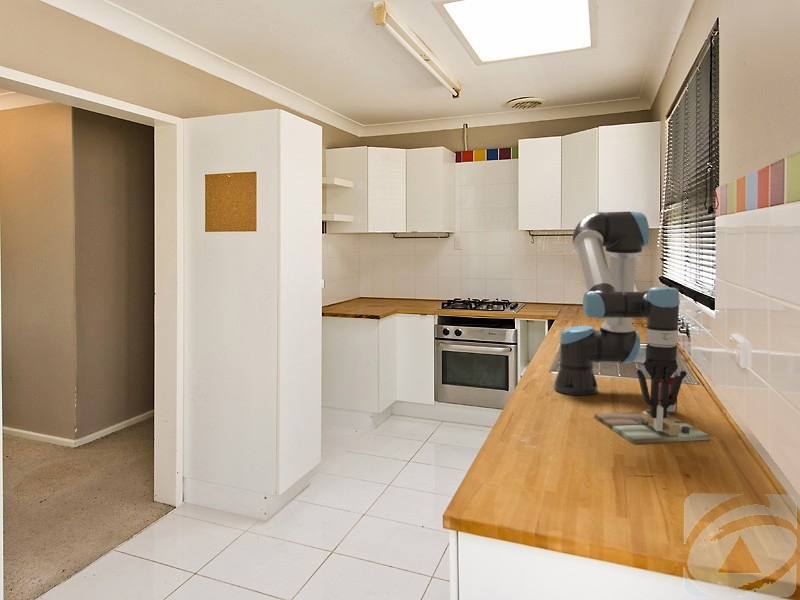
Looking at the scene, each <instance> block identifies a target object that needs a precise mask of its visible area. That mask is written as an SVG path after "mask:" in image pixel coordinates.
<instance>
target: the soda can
mask: <svg viewBox="0 0 800 600" xmlns="http://www.w3.org/2000/svg"><path fill="white" fill-rule="evenodd" d="M674 377H675V373H673V374H672V376H671V377H670V382H669V390H668V396H669V393H670V390H671V386H672V383H673V380H674ZM660 395H661V379H660V380H659V388H658V405H661V404H660ZM677 411H678V398H677V399H676V402H675V405H670V406H669V407H668V408H667V414H669V415H672V414H673V413H677Z"/></svg>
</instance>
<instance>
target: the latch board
mask: <svg viewBox="0 0 800 600" xmlns="http://www.w3.org/2000/svg"><path fill="white" fill-rule="evenodd" d="M666 418H667V419H669V420H671V421H673V422H675V423H677V424H680V427H679V435H677V436H668V435H666V434H664V433H662V432H660V431H656V430H655V429H654V428H653V427H651V426H649V425H647V424H643V423H642V422H641V411H631V412H629V411H628V412H607V413H606V412H605V413H603V412H602V413H594V419H596V420H597V421H599V422H600V423H602V424H603V425H605V426H606V427H607V428H609V429H611V430H613V432H616V433H617V434H618V435H620V437H623V438H624V439H626V440H627V441H629V442H630V443H632V444H649V443H666V442H667V443H668V442H669V443H670V442H687V441H688V442H689V441H691V442H693V441H707V440H708V441H709V440H710V439H711V438H710V437H711V436H710V434H707V433H706V432H704V431H702V430H700V429H698V428H696V427H694V426H692V425H690V424H688V423H687V422H685V421H682V420H681V419H678V418H676V417H674V416H673V415H672V414H667V417H666Z"/></svg>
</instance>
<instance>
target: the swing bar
mask: <svg viewBox="0 0 800 600" xmlns="http://www.w3.org/2000/svg"><path fill="white" fill-rule="evenodd" d="M650 411H651V408H646V409H644V410H642V411H640V412H641V422H642V423H643V424H647V425H649V426H651V427H654V418H652V417H651V415H650ZM679 427H680V424H677V423H675V422H673V421H671V420H669V419H667V418H663V429H662V431H660V432H662V433H664V434H666V435H668V436H677V435H679Z"/></svg>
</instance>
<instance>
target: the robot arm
mask: <svg viewBox="0 0 800 600" xmlns="http://www.w3.org/2000/svg"><path fill="white" fill-rule="evenodd" d="M649 241H650V226H649V221H648V219H647V216H646V215H645V214H644V213H643V212H640V211H609V212H607V211H605V212H602V211H601V212H599V211H597V212H593V213H590V214H589V215H586V216H585V217H584V218H582V219H581V220H580V221H579V222H578V223H577V225H576V226H575V228H574V230H573V234H572V244H573V248H574V250H575V251H576V252H577V253H578V256H579V259H580V264H581V269H582V274H583V277H584V280H585V285H586V289H587V291H585V293H584V294H583V297H582V311H583V315H585V316H586V317H587V318H598V319H601V318H602V319H604V318H605V320H604V321H603V322H602V323H601V324H600V327H599V328H600V329H599V330H596V329H595V328H594V326H592V325H591V326H590V325H578V326H571V327H567V328H564V329H563V330H562V331H561V332H560V336H559V337H560V338H559V369H558V372H557V375H556V378H555V379H554V382H553V383H554V385H553V386H554V387H553V388H554V390H555V391H556V392H559V393H561V394H565V395H573V396H590V395H595V394H597V393H598V390H599V389H598V387H599V386H598V383H597V380H596V375H595V373H594V363H597V364H599V363H600V364H601V363H603V364H607V363H608V364H620V365H621V364H630V363H633V362H634V361H636V359H637V358H638V356H639V354H640V353H639V352H640V349H641V335H640V333H639V332H638V331H636V326H635V325H633V324H632V319H646V335H645V336H646V337H645V338H646V339H645V340H646V341H645V342H646V343H647V344H646V345H645V361H644V362H643V365H642V366H640V367H639V368H638V367H637V368H635V369H634V372H635V374H636V376H637V378H638V382H639V385H640V390H641V395H642V399H643V402H644V403H645V404H646V405H649V406H650V409H651V411H650V415H651V417H652V418H654V427H653V428H654V429H655V430H656V431H662V429H663V418H666V417H667V408H668V407H669V406H670V405H675V402H676V399H677V400H678V395H679V392H680V389H681V386H682V382H683V380H684V378H685V377H686V376H687V374H688V373H687V371H685V370H684V369H681V368H680V367H679V364H678V363H677V362H678V361H677V360H678V359H677V354H678V348H677V346H676V345H677V344H678V330H679V328H678V327H679V314H680V313H679V311H680V302H681V301H680V290H679V289H678V288H676V287H670V286H666V287H665V286H664V287H663V286H656V287H655V286H654V287H650V288H648V290H643V291H635V281H636V277H635V276H636V267H637V266H636V265H637V257H638V256H639V255H640V254H641V253H642V252H643V247H646V246H648V245H649ZM603 247H605V252H606V254H607V255H609V261H607V258H606V255H605V252H604V248H603ZM608 264H609V265H608ZM646 372H647V373H648V375H649V376H650V392H649V388H648V383H647V378H646V376H645V375H646ZM672 374H675V377H674V380H673V383H672V386H671V390H670V393H669V396H668V390H669V382H670V377H671V376H672ZM660 379H661V395H660V404H661V405H658V388H659V380H660Z"/></svg>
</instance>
